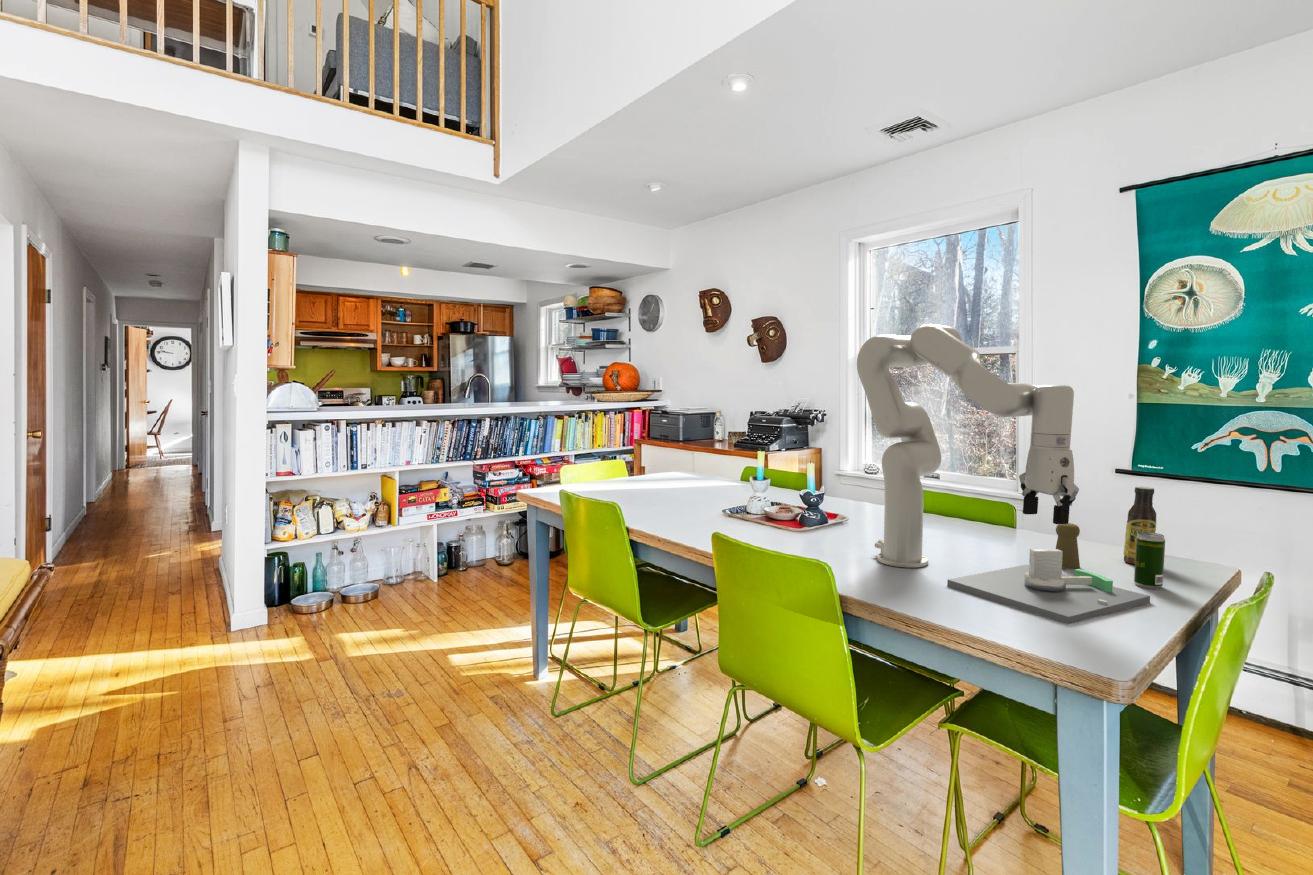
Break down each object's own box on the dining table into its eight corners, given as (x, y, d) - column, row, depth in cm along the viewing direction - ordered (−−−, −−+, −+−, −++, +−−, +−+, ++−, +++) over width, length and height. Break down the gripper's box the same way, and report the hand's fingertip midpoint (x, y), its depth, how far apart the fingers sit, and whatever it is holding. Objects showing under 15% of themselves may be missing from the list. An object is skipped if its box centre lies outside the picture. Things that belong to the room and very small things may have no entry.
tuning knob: (1035, 591, 144) (1037, 554, 143) (1017, 580, 152) (1018, 545, 151) (1102, 591, 143) (1103, 554, 142) (1079, 580, 151) (1081, 545, 150)
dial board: (947, 585, 154) (947, 569, 154) (1025, 570, 166) (1026, 555, 166) (1068, 624, 129) (1069, 604, 129) (1149, 602, 141) (1150, 584, 141)
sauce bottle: (1126, 565, 171) (1130, 488, 169) (1120, 559, 177) (1123, 485, 175) (1157, 567, 168) (1161, 489, 167) (1149, 561, 174) (1154, 486, 173)
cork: (1084, 569, 167) (1086, 526, 166) (1057, 568, 168) (1059, 525, 167) (1074, 563, 173) (1076, 521, 172) (1048, 562, 174) (1050, 520, 173)
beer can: (1167, 587, 152) (1170, 535, 151) (1154, 590, 150) (1157, 538, 149) (1142, 581, 157) (1144, 530, 156) (1128, 584, 155) (1131, 533, 154)
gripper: (1096, 446, 137) (1090, 527, 139) (1039, 437, 154) (1034, 510, 156) (1062, 446, 136) (1056, 528, 138) (1008, 437, 153) (1004, 510, 155)
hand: (1044, 518), depth 147 cm, fingers open, 9 cm apart
